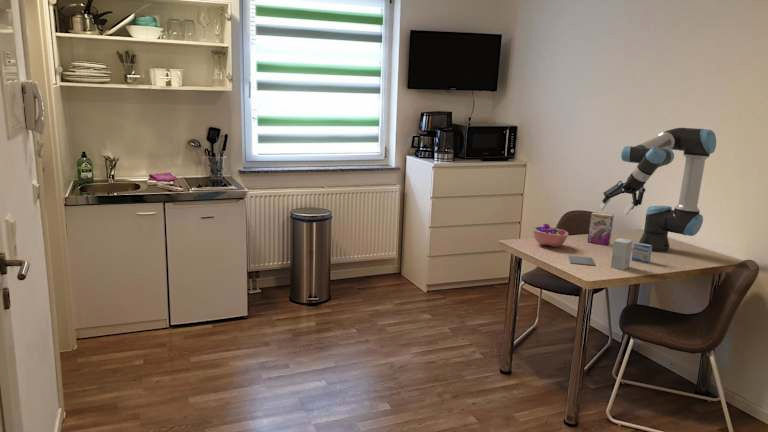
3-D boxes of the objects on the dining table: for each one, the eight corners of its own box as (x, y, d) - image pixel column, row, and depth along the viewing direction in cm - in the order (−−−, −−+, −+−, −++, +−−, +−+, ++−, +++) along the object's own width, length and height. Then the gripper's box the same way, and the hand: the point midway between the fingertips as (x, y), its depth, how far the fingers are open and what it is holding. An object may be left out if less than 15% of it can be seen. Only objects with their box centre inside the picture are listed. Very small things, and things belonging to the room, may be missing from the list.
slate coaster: (591, 258, 281) (591, 257, 281) (594, 265, 269) (594, 264, 269) (568, 256, 284) (568, 255, 283) (570, 263, 271) (570, 262, 271)
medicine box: (631, 260, 281) (633, 243, 279) (633, 258, 284) (635, 241, 283) (648, 263, 276) (650, 246, 274) (650, 261, 280) (652, 244, 278)
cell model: (552, 252, 290) (554, 230, 288) (524, 242, 307) (525, 222, 305) (574, 248, 299) (577, 227, 297) (546, 239, 316) (548, 220, 313)
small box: (615, 263, 274) (619, 237, 271) (629, 266, 270) (633, 240, 267) (610, 267, 268) (613, 240, 265) (623, 270, 264) (627, 243, 261)
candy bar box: (587, 242, 313) (590, 213, 310) (589, 240, 317) (592, 212, 314) (608, 246, 307) (612, 216, 304) (610, 244, 312) (613, 214, 308)
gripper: (619, 176, 256) (593, 210, 269) (664, 187, 262) (637, 220, 276) (613, 166, 262) (588, 200, 275) (658, 177, 268) (631, 210, 281)
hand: (613, 210), depth 275 cm, fingers open, 13 cm apart
